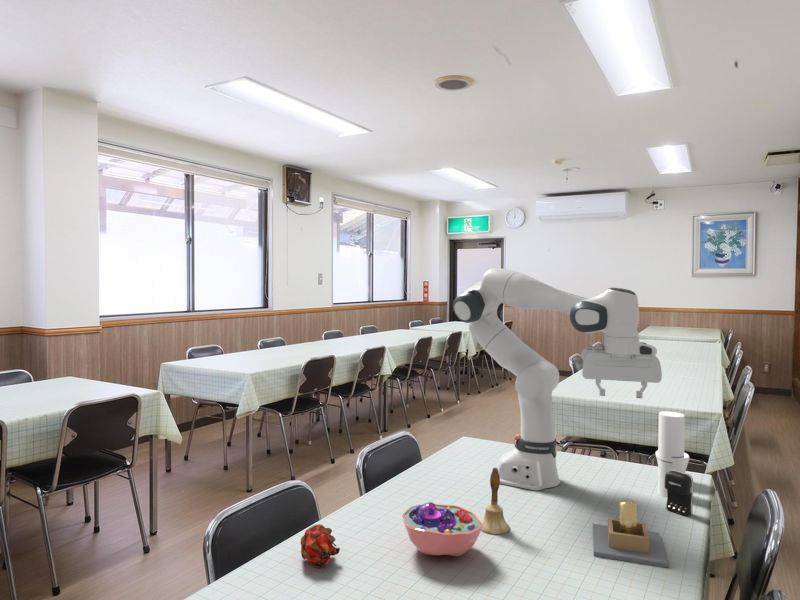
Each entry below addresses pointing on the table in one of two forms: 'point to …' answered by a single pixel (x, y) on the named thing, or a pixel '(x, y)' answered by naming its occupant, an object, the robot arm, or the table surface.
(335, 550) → the dragon fruit
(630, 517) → the brass tube
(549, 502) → the table surface
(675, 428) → the cylindrical container
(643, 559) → the plate
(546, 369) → the robot arm
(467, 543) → the cell model
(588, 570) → the table surface
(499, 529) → the hand bell
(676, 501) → the battery charger
